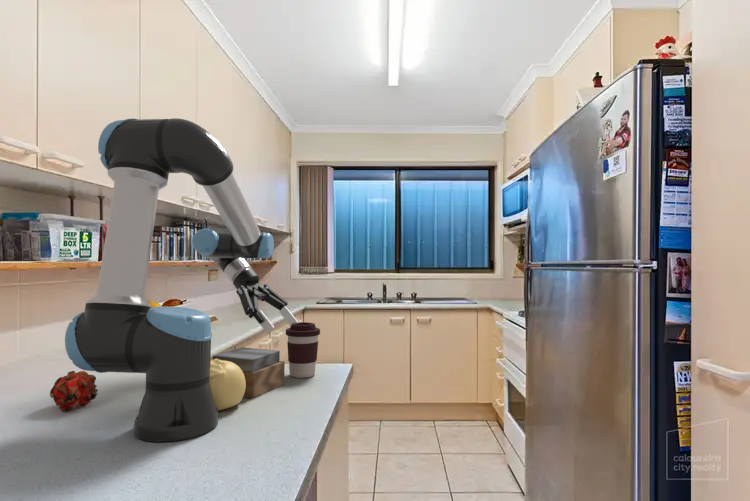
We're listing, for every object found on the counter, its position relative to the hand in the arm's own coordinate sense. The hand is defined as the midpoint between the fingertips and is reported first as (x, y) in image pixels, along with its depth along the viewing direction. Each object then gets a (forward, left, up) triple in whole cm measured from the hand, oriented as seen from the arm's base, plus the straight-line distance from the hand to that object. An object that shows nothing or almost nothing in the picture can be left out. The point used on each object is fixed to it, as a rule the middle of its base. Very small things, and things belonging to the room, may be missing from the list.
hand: (283, 327), depth 132 cm
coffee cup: (-1, -7, -14) cm, 15 cm away
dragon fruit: (-45, +26, -14) cm, 54 cm away
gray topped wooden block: (-18, 0, -13) cm, 22 cm away
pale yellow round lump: (-33, -3, -14) cm, 36 cm away
